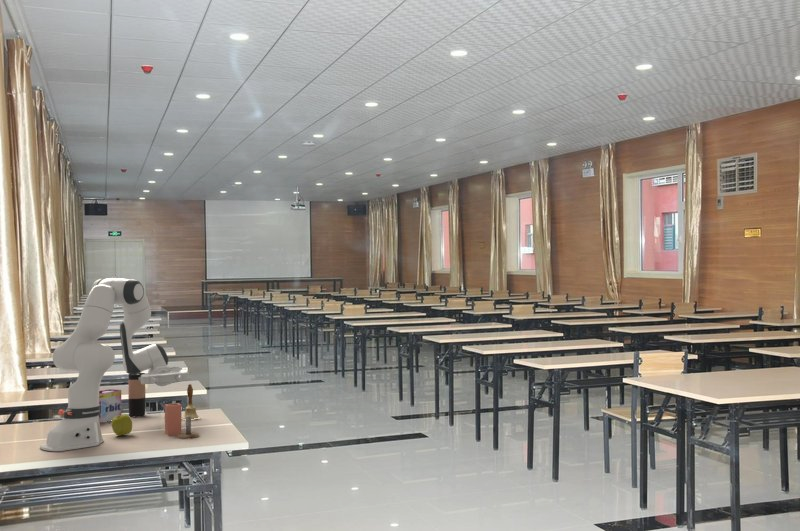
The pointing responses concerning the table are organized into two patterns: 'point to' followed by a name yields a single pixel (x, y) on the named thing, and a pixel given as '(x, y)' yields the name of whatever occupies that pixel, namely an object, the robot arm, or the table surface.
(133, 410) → the travel mug
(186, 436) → the shaft post
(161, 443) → the table surface
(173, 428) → the red square vase
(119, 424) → the apple
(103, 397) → the gum box
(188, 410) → the hand bell
